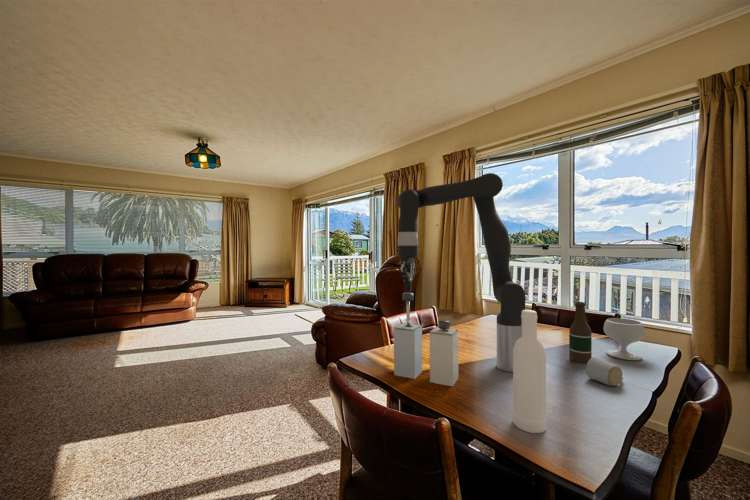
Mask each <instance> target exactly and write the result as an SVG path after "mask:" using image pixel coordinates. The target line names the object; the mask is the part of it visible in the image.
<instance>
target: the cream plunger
mask: <svg viewBox="0 0 750 500" xmlns="http://www.w3.org/2000/svg"><path fill="white" fill-rule="evenodd" d="M437 323H438V324H437V327H438V328H440V329H442V331H444V332H446V329H450V328H451V320H448V319H438V321H437Z"/></svg>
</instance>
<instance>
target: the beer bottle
mask: <svg viewBox="0 0 750 500" xmlns="http://www.w3.org/2000/svg"><path fill="white" fill-rule="evenodd" d="M574 305H575V311H574V312H575V313H574V320H573V322H572V323H571V325H570V326H569V333H568V335H569V336H568V337H569V338H568V339H569V340H568V343H569V344H568V345H569V346H568V347H569V349H568V352H569V353H568V354H569V355H568V357H569V360H570V361H571V362H573V363H576V364H580V365H587V363H588V361H589V360H590V359H591V358H593V357H592V355H593V354H592V353H593V351H592V350H593V349H592V341H593V339H592V336H593V335H592V329H591V327H590V325H589V324H588V322H587V317H586V302H584V301H576V302H575V303H574Z"/></svg>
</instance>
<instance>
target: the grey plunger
mask: <svg viewBox="0 0 750 500" xmlns="http://www.w3.org/2000/svg"><path fill="white" fill-rule="evenodd" d="M402 301H406V305H405V306H406V307H405V308H406V312H405V313H406V323H407V327H410V324H411V323H410V322H411V320H410V317H411V315H410V313H411V311H410V310H411V307H410V306H411V305H410V303H411V302H412V301H414V293H413V292H402Z"/></svg>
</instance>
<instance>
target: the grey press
mask: <svg viewBox="0 0 750 500" xmlns="http://www.w3.org/2000/svg"><path fill="white" fill-rule="evenodd" d="M422 372H423V325H422V324H417V323H416V324H415V323H410V327H407V322H401V323H399V324H397V325H396V326H394V327H393V375H394V376H398V377H401V378H409V379H413V380H415V379H416V378H418V376H420V374H421V373H422Z"/></svg>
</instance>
